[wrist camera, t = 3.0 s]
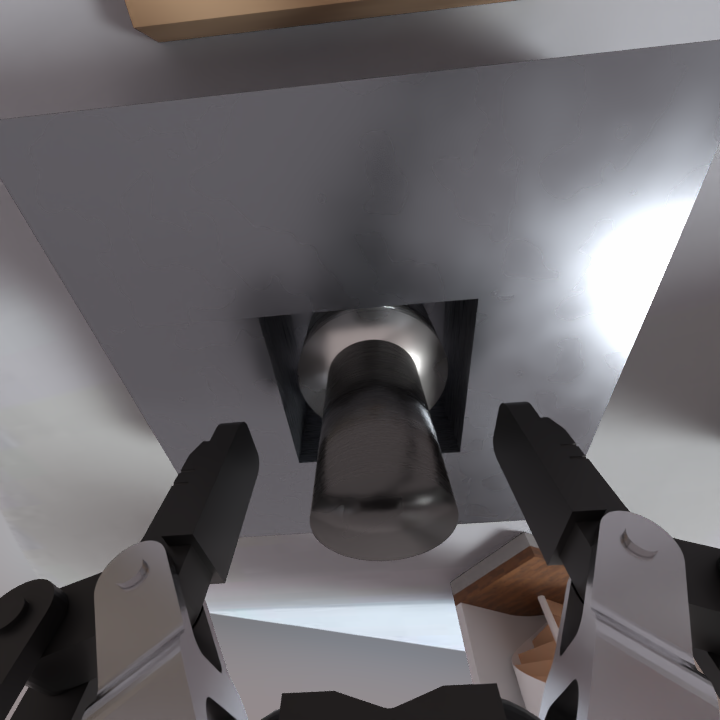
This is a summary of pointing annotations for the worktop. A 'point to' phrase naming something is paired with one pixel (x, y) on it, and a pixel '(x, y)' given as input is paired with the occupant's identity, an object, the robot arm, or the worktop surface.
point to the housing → (375, 243)
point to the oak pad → (263, 14)
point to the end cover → (377, 432)
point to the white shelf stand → (512, 619)
